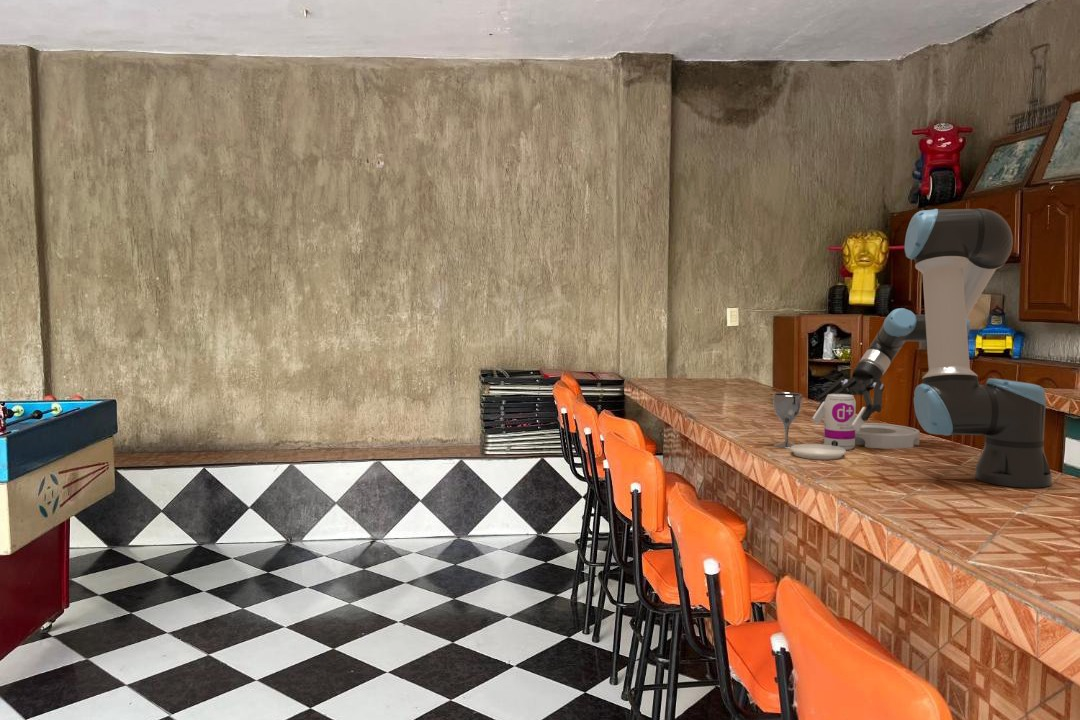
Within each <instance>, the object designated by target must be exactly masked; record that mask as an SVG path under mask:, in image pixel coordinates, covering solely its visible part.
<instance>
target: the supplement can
mask: <svg viewBox="0 0 1080 720" xmlns="http://www.w3.org/2000/svg"><path fill="white" fill-rule="evenodd" d="M854 396H855V395H849V394H828V395H827V397H826V399H825V416H824V418H823V419H824V421H823V423H824V425H823V427H824V428H823V431H824V432H823V444H824V445H832V446H838V447H841V448H844V449H845V450H846V451H850V450H852V449H853V448H855V446H856V445H855V429H854V427H853V426H852V423H853V422H854V420H855V419H856V410H857V409H856V408H857V407H856V405H857V404H856V403H857V401H856V398H855V397H854Z"/></svg>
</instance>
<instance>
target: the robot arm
mask: <svg viewBox="0 0 1080 720" xmlns="http://www.w3.org/2000/svg"><path fill="white" fill-rule="evenodd" d="M1013 243H1014V236H1013V232H1012V229H1011V227H1010V225H1009V223H1008V222H1007V220H1006V219H1005V218H1003V216H1002V215H1000V214H999V213H997V212H995V211H993V210H990V209H988V208H956V209H955V208H953V209H952V208H951V209H950V208H948V209H947V208H946V209H944V208H941V209H938V208H934V209H927V210H926V209H925V210H919V211H918V212H916V213H914V215H912V217H911V220H910V221H909V224H908V227H907V230H906V233H905V239H904V253H905V257H906V258H908V259H910V260H914V268H915V269H916V271H919V272H920V273H921V274H922V284H923V288H922V289H923V300H924V301H923V302H924V314H915V313H914V312H913V311H912V310H910V309H906V308H905V307H904V308H903V307H901V308H895V309H893V310H892V311H890V313H889V314H888V315H887V316H886V318H885V319H884V321H883V323H882V326H881V327H880V329H879V330H878V332H877V333H876V335H875V337H874V339H873V340H872V342H871V343H870V345H869V347H868V348H867V349H866V351H865V352H864V353H863V356H862V357H861V358H860V360H859V361H858V363H857V365H855V368H854V369H853V371H852V376H851V377H850V378H849V379H846V378H845V376H841V377H840V378H839V379H838V380H837V382H835V383H834V384H832V385H831V386H830V387H829V388H827V389H826V390H825V391H824V392H822V393H821V394H819V395H818V396H817V401H819V404H818V406H817V408H816V412H815V413H814V415H813V416H812V417H811V418H812V420H813V422H814V423H815V424H816V425H820V423H821V422H822V420H823V419H824V418H825V399H826V397H827V395H828V394H849V395H853V396H860V397H862V396H863V400H864V403H865V406H862V408H861V410H860V411H859V412H858V414H857V415H856V416H855V420H854V422H853V423H852V426H853V427H854V429H855V430H856V431H859V429H860V428H861V426H862V425H863V423H866V422H867V421H868V420H869V419H870V417H871V415H872V414H874V413H875V412H877V413H880V412H881V411H882V405H883V391H884V389H885V388H886V387H885V385H884V384H883V382H882V380H881V379H882V378H883V376H884V374H885V373H886V372H887V370H888V368H890V365H891V364H892V362H893V361H894V359H895V358H896V356H897V355H898V353H899V351H900V350H901V349H902V347H903V346H904V345H905V343H906V342H926V348H927V349H926V352H927V365H928V367H927V368H928V371H927V372H926V373H925V374H924V375H923V376H922V378H921V383H920V384H918V385H917V386H916V387H915V389H914V392H913V394H914V397H913V405H914V406H913V407H914V412H915V417H916V419H917V422H918V424H919V425H920V426H921V428H922V429H923V430H924V431H925V432H926V433H927V434H931V435H940V436H945V437H946V436H984V446H983V448H982V452H981V453H980V456H979V459H978V461H977V463H976V466H975V470H974V471H975V473H974V477H975V479H977V480H978V481H980V482H984V483H989V484H993V485H997V486H1005V487H1011V488H1023V489H1024V488H1027V489H1029V488H1031V489H1032V488H1033V489H1035V488H1036V489H1037V488H1039V489H1040V488H1046V487H1049V486H1052V476H1053V475H1052V471H1051V469H1050V467H1049V462H1048V460H1047V457H1046V453H1045V449H1044V444H1045V443H1044V442H1045V424H1046V408H1047V402H1046V399H1047V398H1046V391H1045V389H1044V388H1043V387H1042V386H1041V385H1038V384H1035V383H1029V382H1023V381H1017V380H1011V379H1010V380H1009V379H1000V378H992V377H991V378H990V377H989V378H988V379H987V380H986V382H985V384H979V376H978V374H977V373H975V372H974V371H973V370H972V369H971V368H970V354H969V353H970V352H969V339H968V336H969V334H970V331H971V324H970V323H971V322H970V319H969V315H971V314H970V313H971V312H972V311H973V309H974V308H975V306H976V303H977V302H978V300H979V299H980V297H981V296H982V293H983V292H984V290H985V289H986V287H987V285H988V284H989V282H990V280H991V279H992V277H993V275H994V274H995V273H996V271H997V269H1000V268H1002V267H1003V266H1005V264H1006V262H1007V261H1008V259H1009V257H1010V256H1011V253H1012V250H1013V245H1014V244H1013ZM847 389H848V390H847ZM872 390H873V401H872V396H871V392H870V391H872Z"/></svg>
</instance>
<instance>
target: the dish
mask: <svg viewBox="0 0 1080 720" xmlns="http://www.w3.org/2000/svg"><path fill="white" fill-rule="evenodd" d="M846 451H847V450H845V449H844V448H841V447H838V446H832V445H824V443H823V444H821V443H801V444H795V445H793V446H791V448H790V452H792V453H793V455H794V456H795V457H798V458H801V459H802V458H803V459H808V460H819V461H828V460H829V461H830V460H838V459H842V458H843V456H844V455H845V454H846Z"/></svg>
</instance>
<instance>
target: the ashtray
mask: <svg viewBox="0 0 1080 720" xmlns="http://www.w3.org/2000/svg"><path fill="white" fill-rule="evenodd" d="M920 436H921V435H920V430H919V429H917V428H914V427H910V426H905V425H898V424H892V423H891V424H890V423H877V422H876V423H875V422H864V423H863V425H862V426H861V428H860V429H859V431H856V430H855V446H864V447H865V448H868V449H869V448H871V449H886V450H887V449H888V450H889V449H893V450H894V449H895V450H896V449H909V448H910V449H911V448H914V446H919V445H920Z"/></svg>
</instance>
